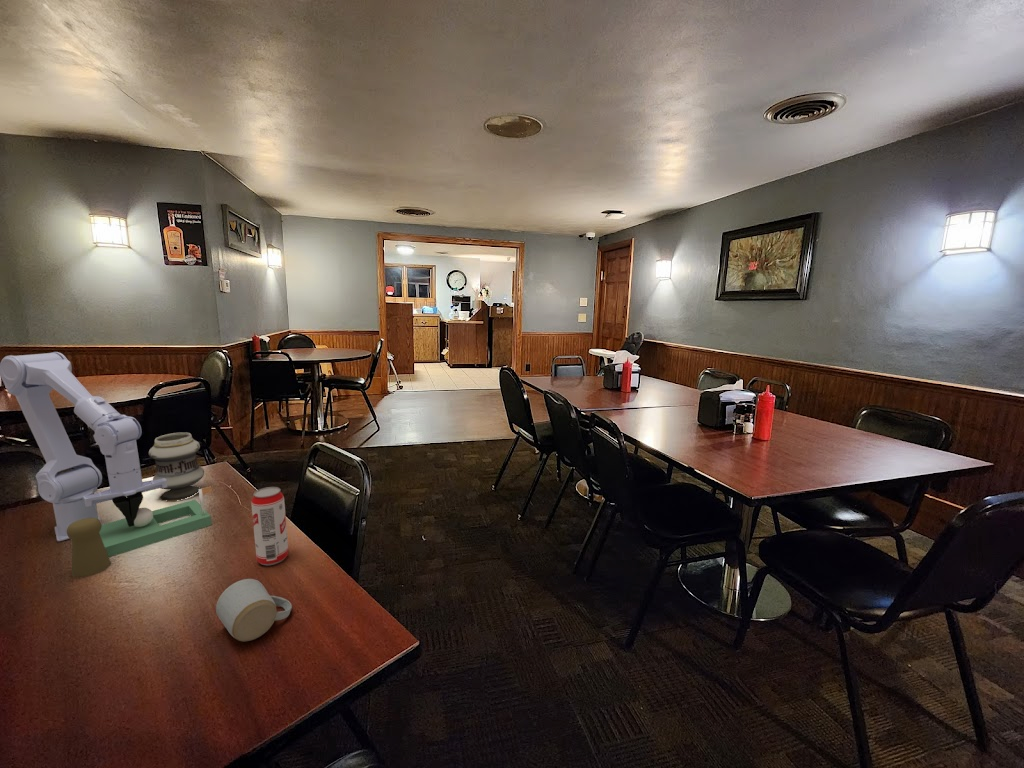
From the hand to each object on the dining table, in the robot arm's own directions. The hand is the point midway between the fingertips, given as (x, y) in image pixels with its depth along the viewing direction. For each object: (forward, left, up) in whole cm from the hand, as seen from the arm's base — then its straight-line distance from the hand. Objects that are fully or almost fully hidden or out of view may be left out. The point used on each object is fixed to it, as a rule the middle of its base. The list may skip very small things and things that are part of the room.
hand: (132, 524), depth 103 cm
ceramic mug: (+52, +9, -4) cm, 53 cm away
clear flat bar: (+4, +14, -1) cm, 15 cm away
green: (-1, +4, -4) cm, 5 cm away
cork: (+9, -8, -4) cm, 13 cm away
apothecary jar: (-22, +14, -4) cm, 26 cm away
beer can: (+33, +19, -4) cm, 38 cm away
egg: (0, +2, +1) cm, 2 cm away
